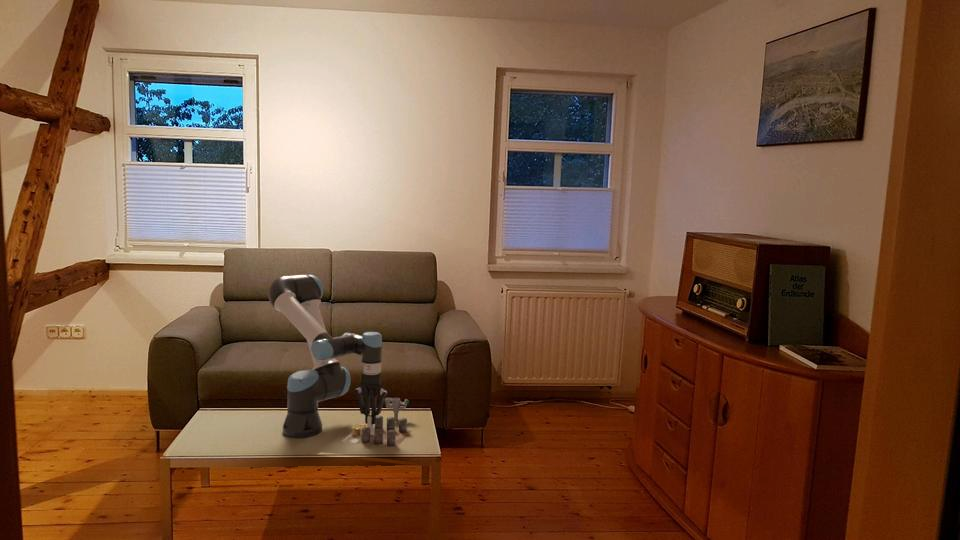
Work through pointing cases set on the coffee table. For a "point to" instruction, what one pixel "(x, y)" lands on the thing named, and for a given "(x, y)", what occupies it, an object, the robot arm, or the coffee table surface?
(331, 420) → the coffee table surface
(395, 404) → the mechanical component
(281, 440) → the coffee table surface
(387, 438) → the board
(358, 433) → the star-shaped block
